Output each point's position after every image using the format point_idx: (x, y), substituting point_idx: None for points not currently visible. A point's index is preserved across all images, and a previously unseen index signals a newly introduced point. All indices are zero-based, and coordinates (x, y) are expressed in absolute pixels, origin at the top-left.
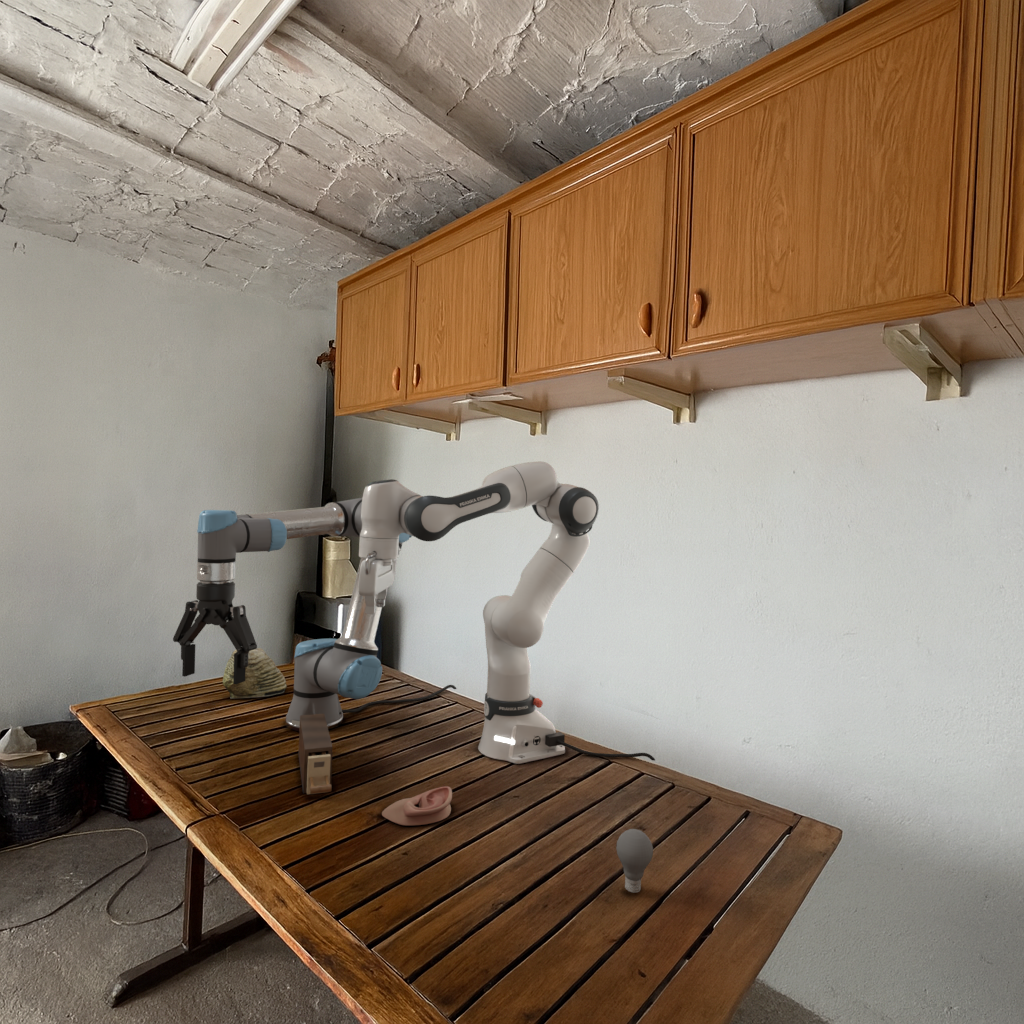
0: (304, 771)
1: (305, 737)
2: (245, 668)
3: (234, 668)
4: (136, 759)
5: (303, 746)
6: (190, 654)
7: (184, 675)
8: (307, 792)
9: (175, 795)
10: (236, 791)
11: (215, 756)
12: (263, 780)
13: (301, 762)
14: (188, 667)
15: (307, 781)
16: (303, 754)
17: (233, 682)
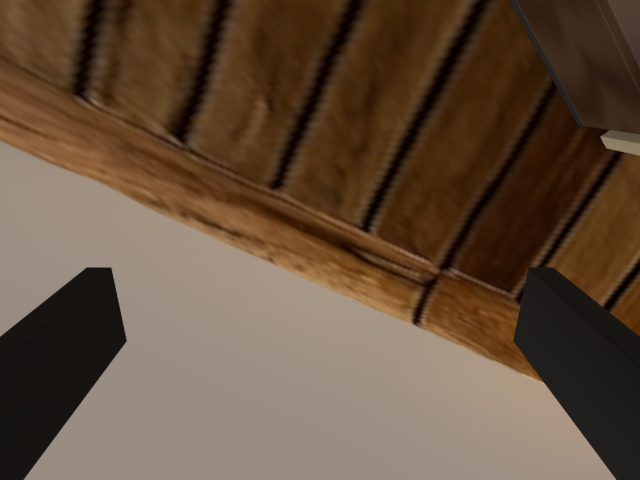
0: (619, 130)
1: (636, 36)
2: (612, 315)
3: (578, 419)
4: (26, 130)
5: (631, 80)
6: (19, 413)
7: (119, 345)
8: (610, 147)
9: (295, 246)
10: (410, 179)
11: (197, 14)
12: (438, 100)
13: (546, 23)
14: (92, 351)
15: (631, 153)
16: (622, 93)
17: (518, 347)
